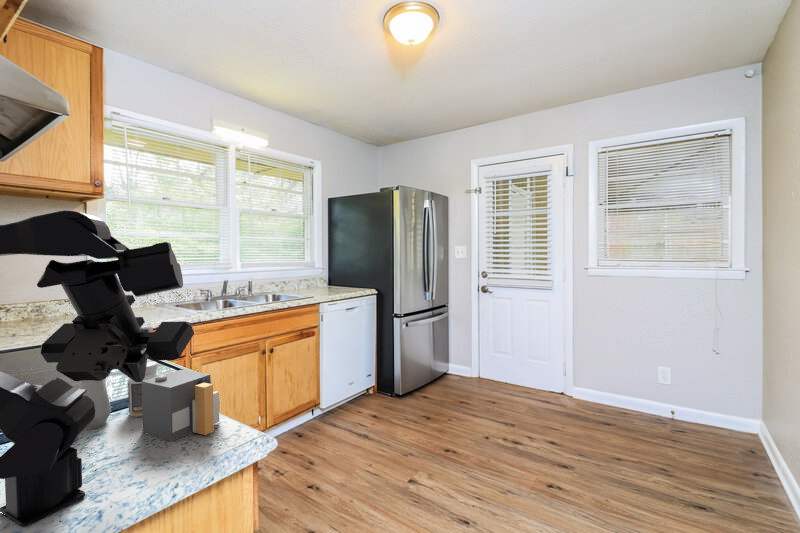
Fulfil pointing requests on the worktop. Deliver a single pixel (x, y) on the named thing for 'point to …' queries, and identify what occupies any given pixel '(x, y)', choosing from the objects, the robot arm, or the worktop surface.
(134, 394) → the pill bottle
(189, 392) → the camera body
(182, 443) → the worktop surface
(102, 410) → the salt shaker
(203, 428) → the wooden upright post
